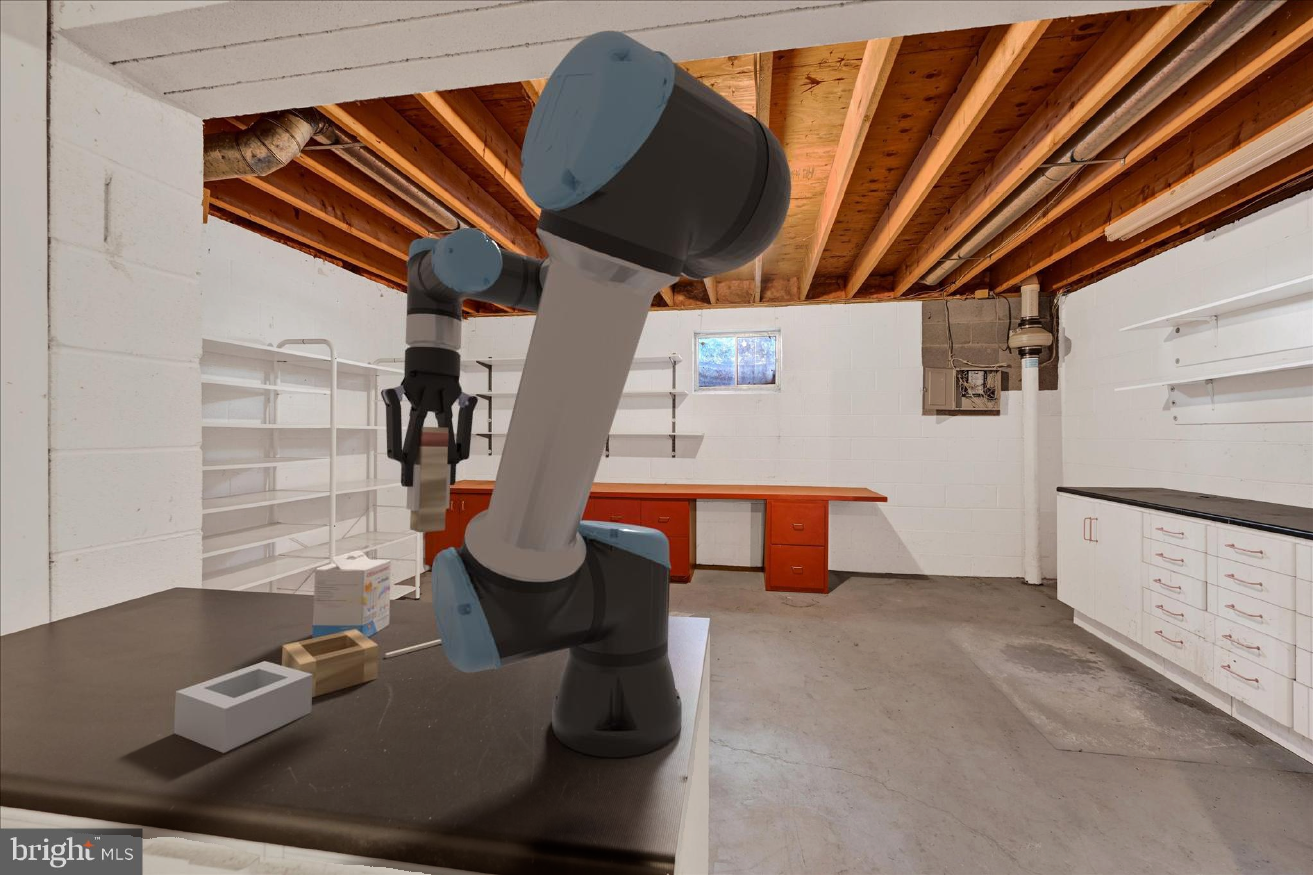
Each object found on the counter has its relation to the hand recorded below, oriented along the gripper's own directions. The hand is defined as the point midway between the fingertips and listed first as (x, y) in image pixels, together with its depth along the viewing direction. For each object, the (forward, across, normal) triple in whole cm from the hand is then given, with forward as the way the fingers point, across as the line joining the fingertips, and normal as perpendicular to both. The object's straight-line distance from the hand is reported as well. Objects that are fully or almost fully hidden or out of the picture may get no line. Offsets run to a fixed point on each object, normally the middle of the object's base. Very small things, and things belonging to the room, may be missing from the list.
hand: (428, 508), depth 75 cm
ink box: (+23, +3, -22) cm, 32 cm away
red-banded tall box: (+3, 0, 0) cm, 3 cm away
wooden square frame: (+23, +11, -4) cm, 26 cm away
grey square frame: (+23, +21, +2) cm, 31 cm away
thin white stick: (+23, -2, -7) cm, 24 cm away
